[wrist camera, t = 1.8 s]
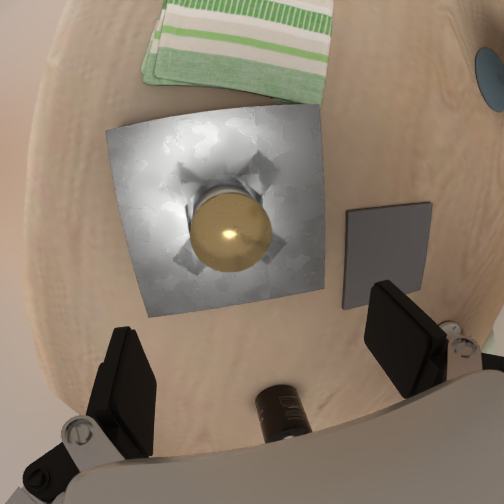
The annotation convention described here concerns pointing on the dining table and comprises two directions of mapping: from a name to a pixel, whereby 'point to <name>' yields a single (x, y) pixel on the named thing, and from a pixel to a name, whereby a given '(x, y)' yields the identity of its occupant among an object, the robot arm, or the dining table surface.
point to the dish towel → (243, 47)
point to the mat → (385, 249)
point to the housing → (214, 167)
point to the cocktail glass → (490, 78)
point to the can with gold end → (228, 226)
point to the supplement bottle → (281, 414)
